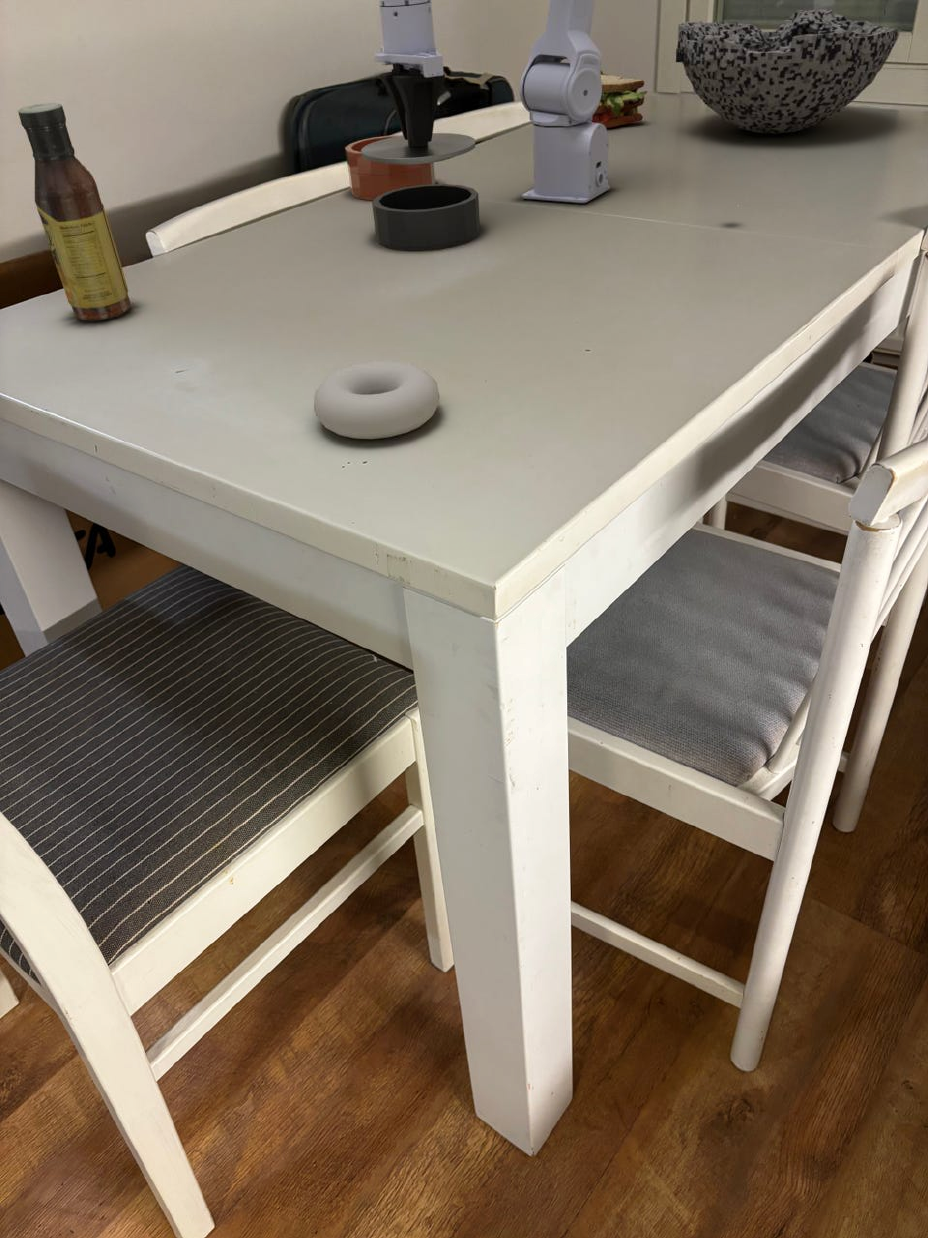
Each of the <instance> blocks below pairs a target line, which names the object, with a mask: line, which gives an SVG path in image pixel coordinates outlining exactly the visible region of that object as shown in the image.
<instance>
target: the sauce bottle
mask: <svg viewBox="0 0 928 1238" xmlns="http://www.w3.org/2000/svg"><path fill="white" fill-rule="evenodd" d="M17 112H18V116H19V120H20V124H21V126H22V128H23V129H24V130H25V132H26V135H27V136H26V137H27V139H28V142H29V145H30V147H31V151H32V157H33V159H34V203H35V207H36V209H37V210H36V211H37V213H38V215H39V219H40V221H41V225H42V227H43V230H44V234H45V236H46V239H47V243H48V246H49V248H50V251H51V254H52V257H53V261H54V263H55V266H56V269H57V272H58V275H59V278H60V281H61V284H62V287H63V290H64V294H65V297H66V299H67V302H68V304H69V305H70V306H71V309H72V311H73V314H74V315H75V316H76V317H77V319H78V320H80V321H90V322H91V321H93V322H95V321H102V320H111V319H115V318H119V317H120V316H121V315H123V314H125V313H127V312H128V311H129V310H130V309H131V306H132V303H131V299H130V297H129V294H128V293H129V288H128V283H127V280H126V277H125V273H124V270H123V267H122V264H121V259H120V256H119V253H118V250H117V246H116V243H115V239H114V236H113V233H112V228H111V226H110V222H109V219H108V216H107V213H106V209H105V205H104V204H103V202H102V199H101V197H100V192H99V189H98V185H97V183H96V180H95V178H94V176H93V175H92V174H91V171H89V170H88V169H87V168H86V166H85V165H84V164H82V162H81V161H80V160H79V159H78V158H77V157H76V156H75V153H76V152H75V151H76V150H75V148H74V146H73V143H72V141H71V137H70V135H69V130H68V126H67V118H66V114H65V110H64V107H63V105H62V104H61V103H59V102H58V103H57V102H46V103H37V104H32V105H28V106H24V107H21V108H19V109H18V110H17Z"/></svg>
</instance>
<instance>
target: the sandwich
mask: <svg viewBox="0 0 928 1238" xmlns="http://www.w3.org/2000/svg"><path fill="white" fill-rule="evenodd" d="M601 81H602V95H601V100H600V103H599V106H598V108H597V110H596V111H595V113H594V114H593V115H592V121H591V122H593V123H600V124H603V125H604V126H605V127H606V129H608V128H609V129H610V128H614V127H619V126H623V125H628V124H632V123H638V122H641V121H642V120H643V118H644V117H643V115H642V114H641V113H640V112H638V107H641V106H642V105H643V104H644V102H645V96H646V95H647V94H648V90H645V91H641V92H638V90H639V89H642V88H643V87H644V86H645V80H643V79H633V78H623V76H622V75H621V76H616V75H611V74H607V73H606V72H603V70H602V69H601Z"/></svg>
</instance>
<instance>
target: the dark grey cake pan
mask: <svg viewBox="0 0 928 1238" xmlns="http://www.w3.org/2000/svg"><path fill="white" fill-rule="evenodd" d="M479 198H480V197H479V192H477V190H475V188H473V187H469V186H466V185H461V184H450V183H436V184H435V183H434V184H432V185H420V186H412V187H405V188H400V189H396V190H392V191H389V192H386V193H384V194H382V195H379V196H377V197H376V198H375V199H374V200H371V206H372V213H373V214H372V215H373V221H374V222H373V223H374V229H375V236H376V239H377V243H378V244H380V245H381V246H383V247H384V248H388V249H393V250H397V251H411V252H412V251H413V252H414V251H415V252H416V251H417V252H418V251H419V252H420V251H433V250H441V249H447V248H452V247H456V246H460V245H463V244H465V243H468V242H470V241H472V240H474V239H476V238H477V237H478V236H479V234H480V228H481V216H480V200H479Z"/></svg>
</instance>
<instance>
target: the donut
mask: <svg viewBox="0 0 928 1238" xmlns="http://www.w3.org/2000/svg"><path fill="white" fill-rule="evenodd" d="M439 404H440V391H439V387H438V383H437V381H436V380H435V378H434V377H433V376H432V375H431V374H430V373H429V372H428V371H427V370H426V369H424V368H423V367H421V366H418V365H415V364H413V363H409V362H405V361H397V360H374V361H365V362H360V363H357V364H352V365H349V366H347V367H344V368H341V369H339V370H336V371H335V372H333V373H331V374H329V376H327V377H325V379H323V381H322V382H321V383H320V384H319V385H318V386H317V388H316V390H315V392H314V396H313V409H314V410H313V411H314V414H315V416H316V417H317V419H318V420H319V421H320V423H321V424H322V425H323V426H324V428H326V429H327V430H328V431H330V432H333V433H335V434H336V435H339V436H341V437H345V438H351V439H357V440H378V439H388V438H392V437H395V436H400V435H404V434H407V433H409V432H411V431H413V430H416V429H418V428H420V427H421V426H422V425H424V424H425V423H426V422H427V421H429V420H430V419H431V418H432V417H433V415H434V414H435V412H436V411H437V408H438V406H439Z"/></svg>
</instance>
